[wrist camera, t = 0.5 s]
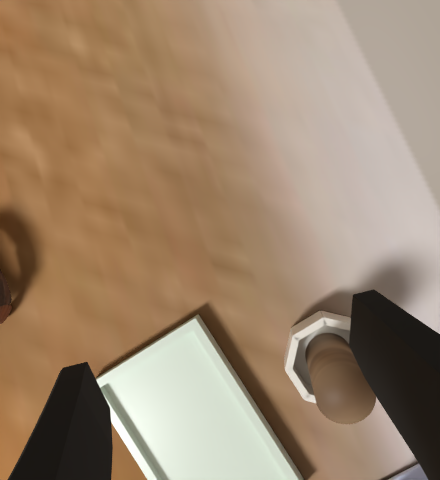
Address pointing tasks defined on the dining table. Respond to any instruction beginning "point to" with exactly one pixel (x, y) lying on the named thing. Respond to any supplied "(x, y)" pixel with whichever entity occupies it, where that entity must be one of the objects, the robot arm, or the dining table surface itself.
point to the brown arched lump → (4, 299)
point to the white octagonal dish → (300, 340)
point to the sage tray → (191, 413)
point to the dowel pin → (338, 380)
